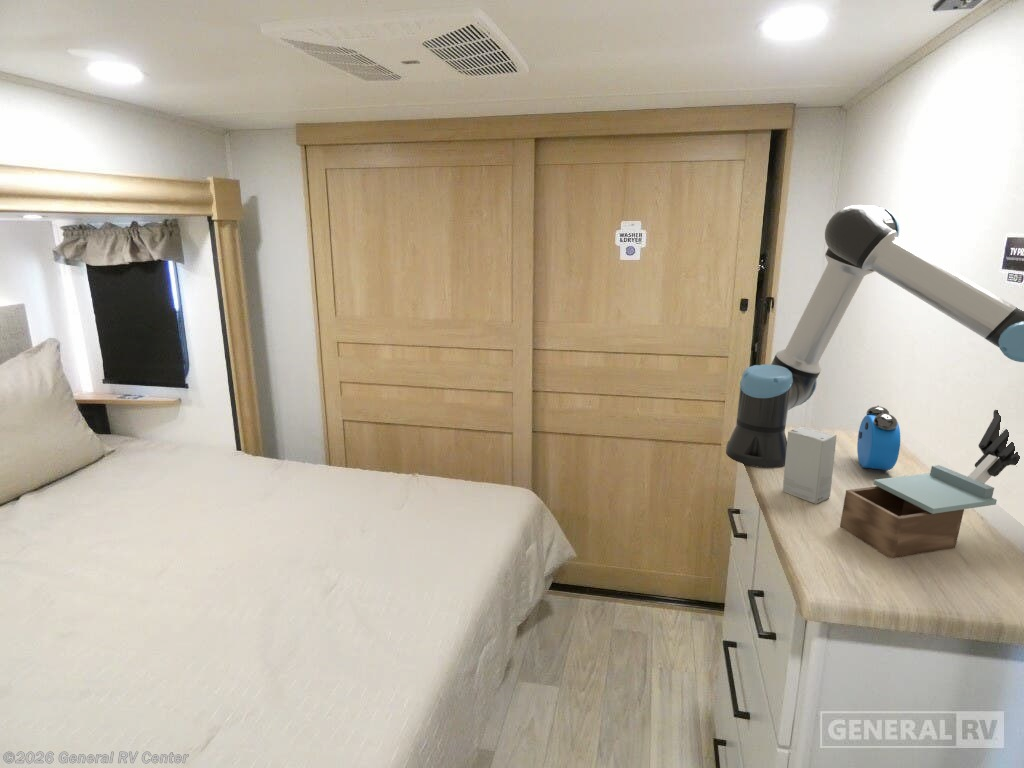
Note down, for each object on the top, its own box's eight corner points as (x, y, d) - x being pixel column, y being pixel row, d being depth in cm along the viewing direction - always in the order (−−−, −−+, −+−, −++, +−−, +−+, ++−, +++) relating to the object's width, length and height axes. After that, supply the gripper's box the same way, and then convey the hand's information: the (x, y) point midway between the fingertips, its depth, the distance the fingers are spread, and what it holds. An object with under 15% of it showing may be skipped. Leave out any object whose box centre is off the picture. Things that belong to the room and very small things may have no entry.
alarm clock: (894, 479, 141) (906, 419, 137) (865, 476, 143) (876, 417, 139) (879, 459, 153) (889, 403, 149) (852, 456, 155) (862, 401, 151)
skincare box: (830, 498, 131) (840, 435, 127) (814, 505, 128) (824, 440, 124) (794, 485, 138) (803, 424, 134) (779, 491, 134) (787, 429, 130)
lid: (873, 484, 119) (876, 470, 118) (932, 476, 122) (935, 463, 122) (932, 513, 107) (935, 498, 106) (995, 504, 110) (999, 489, 110)
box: (839, 526, 119) (846, 490, 117) (899, 518, 122) (906, 482, 120) (890, 558, 107) (898, 518, 105) (955, 548, 111) (964, 509, 109)
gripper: (1101, 418, 111) (1014, 509, 111) (1027, 398, 123) (948, 481, 123) (1089, 393, 108) (999, 486, 108) (1013, 375, 120) (933, 459, 121)
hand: (972, 483), depth 116 cm, fingers closed
